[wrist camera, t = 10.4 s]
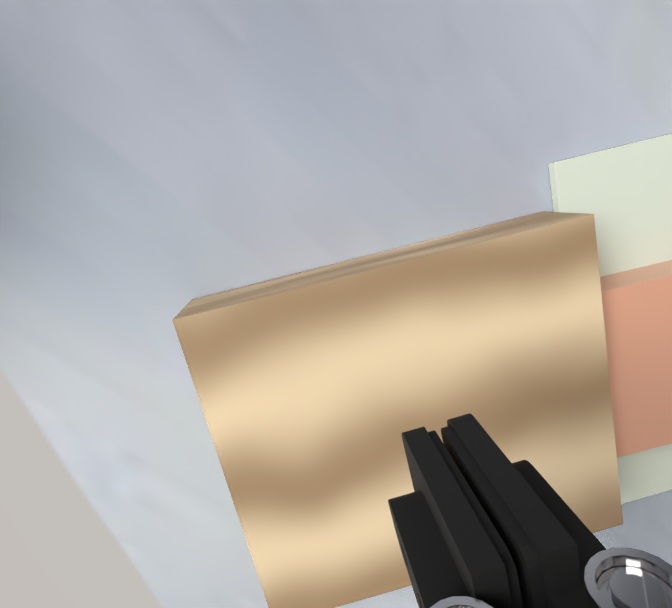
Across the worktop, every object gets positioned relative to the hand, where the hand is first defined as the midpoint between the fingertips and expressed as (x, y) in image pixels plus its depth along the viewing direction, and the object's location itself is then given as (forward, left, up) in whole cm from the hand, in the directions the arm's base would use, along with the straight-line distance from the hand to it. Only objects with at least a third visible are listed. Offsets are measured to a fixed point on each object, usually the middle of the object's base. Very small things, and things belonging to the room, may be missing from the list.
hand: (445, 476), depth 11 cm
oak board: (+3, +1, -11) cm, 11 cm away
